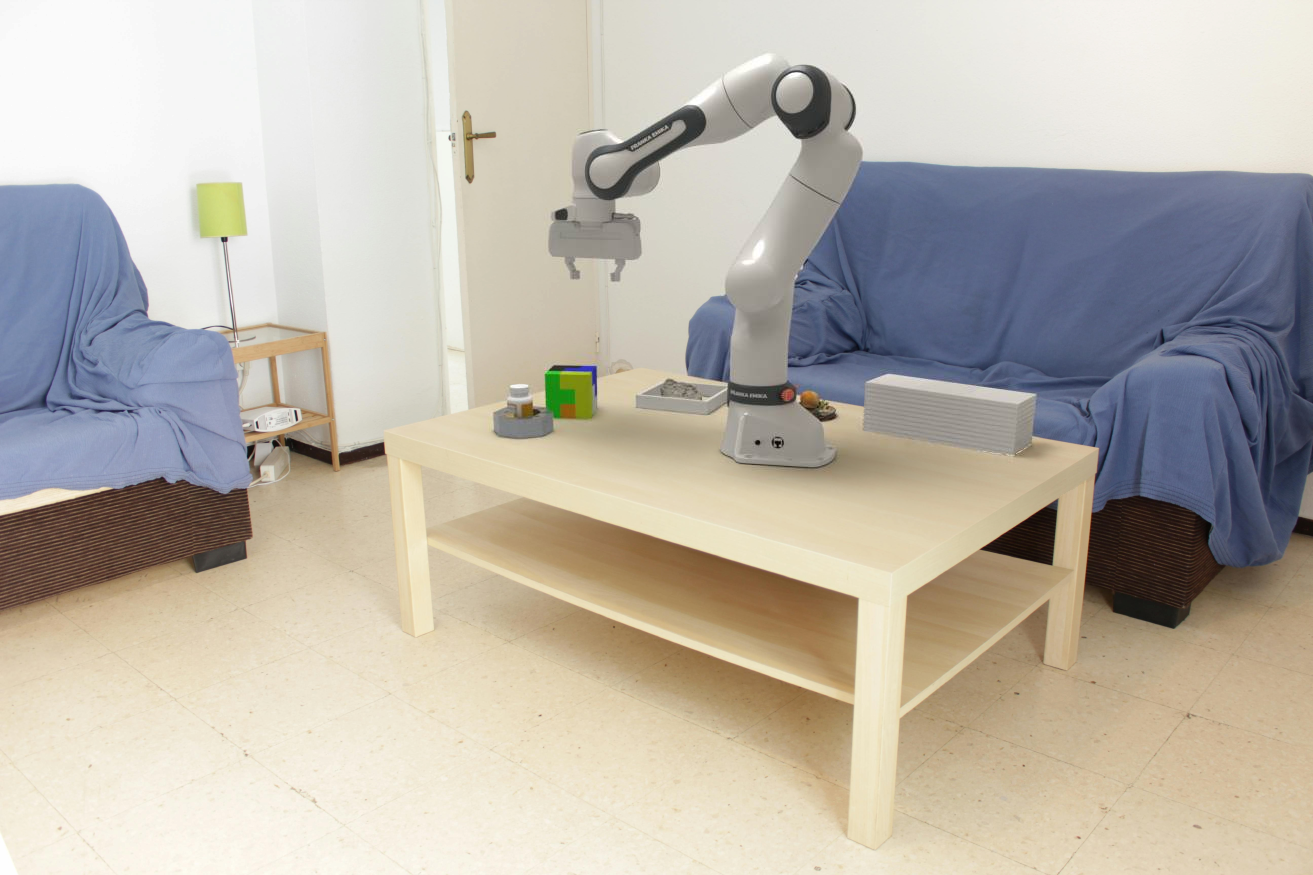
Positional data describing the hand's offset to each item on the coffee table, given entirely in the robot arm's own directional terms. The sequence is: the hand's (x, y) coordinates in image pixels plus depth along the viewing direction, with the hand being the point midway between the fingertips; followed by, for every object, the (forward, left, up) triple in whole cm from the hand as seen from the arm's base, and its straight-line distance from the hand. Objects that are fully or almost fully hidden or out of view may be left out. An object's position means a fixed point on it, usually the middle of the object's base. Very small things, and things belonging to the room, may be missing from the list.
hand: (595, 280), depth 210 cm
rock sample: (-11, -23, -32) cm, 40 cm away
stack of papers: (-71, -19, -32) cm, 80 cm away
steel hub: (+12, +11, -31) cm, 35 cm away
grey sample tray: (-10, -26, -31) cm, 42 cm away
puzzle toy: (+10, -7, -31) cm, 34 cm away
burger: (-40, -26, -32) cm, 57 cm away
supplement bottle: (+13, +11, -31) cm, 36 cm away
